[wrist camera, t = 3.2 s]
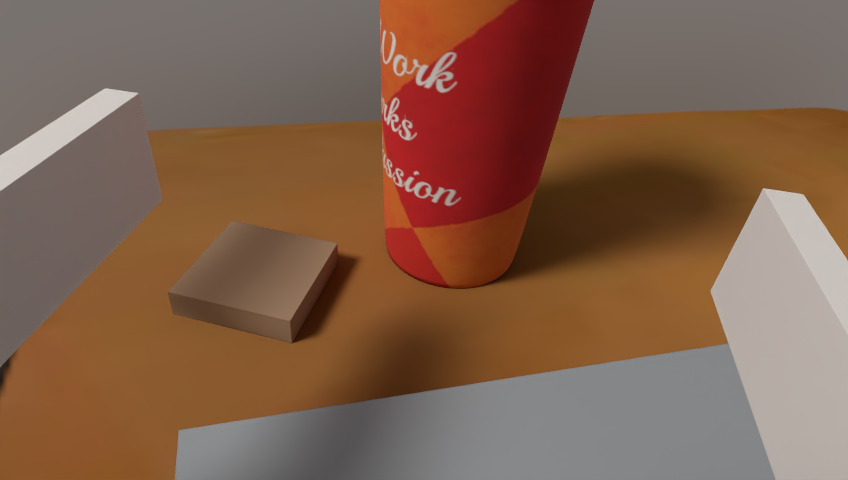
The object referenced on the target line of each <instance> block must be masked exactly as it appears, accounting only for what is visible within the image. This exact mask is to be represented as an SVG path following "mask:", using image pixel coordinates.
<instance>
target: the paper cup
mask: <svg viewBox="0 0 848 480" xmlns="http://www.w3.org/2000/svg"><path fill="white" fill-rule="evenodd" d="M593 2H594V0H380V32H381V89H382V90H381V91H382V142H383V185H384V216H385V235H386V245H387V250H388V253H389V255H390V257H391V259H392V260H393V262H394V263H395V264H396V265H397V266H398V267H399V268H400V269H401V270H402V271H404V272H405V273H406V274H408V275H410V276H411V277H413V278H415V279H417V280H419V281H422V282H425V283H428V284H431V285H435V286H439V287H446V288H471V287H477V286H481V285H485V284H487V283H490V282H492V281H494V280H496V279H498V278H499V277H501V276H502V275H503V274H504V273H505V272H506V271H507V270H508V268H509V267H510V265H511V263H512V261H513V259H514V256H515V253H516V251H517V248H518V245H519V242H520V239H521V236H522V233H523V230H524V227H525V224H526V221H527V217H528V214H529V211H530V208H531V205H532V202H533V198H534V195H535V192H536V189H537V186H538V182H539V179H540V176H541V173H542V169H543V166H544V163H545V160H546V156H547V153H548V150H549V147H550V143H551V140H552V137H553V134H554V130H555V127H556V124H557V121H558V117H559V114H560V111H561V107H562V104H563V100H564V98H565V94H566V91H567V87H568V84H569V81H570V78H571V75H572V71H573V68H574V65H575V61H576V58H577V54H578V51H579V48H580V45H581V41H582V38H583V35H584V32H585V28H586V25H587V22H588V19H589V15H590V12H591V9H592V5H593Z"/></svg>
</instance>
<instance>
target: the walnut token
mask: <svg viewBox="0 0 848 480" xmlns="http://www.w3.org/2000/svg"><path fill="white" fill-rule="evenodd" d="M337 264H338V251H337V243H333V242H329V241H324V240H320V239H315V238H310V237H306V236H301V235H296V234H292V233H287V232H282V231H278V230H273V229H268V228H264V227H259V226H255V225H250V224H245V223H241V222H236V221H232V222H231V223H230V224H229V225H228V226H227V227H226V228H225V229H224V230H223V231H222V233H221V234H220V235H219V236H218V237H217V238H216V239H215V240H214V241H213V243H212V244H211V245H210V246H209V247H208V248H207V249H206V250H205V251H204V252H203V254H202V255H201V256H200V257H199V258H198V259H197V260H196V261H195V262H194V264H193V265H192V266H191V267H190V268H189V269H188V270H187V271H186V272H185V273H184V275H183V276H182V277H181V278H180V279H179V280H178V281H177V282H176V283H175V285H174V286H173V287H172V288H171V289H170V290H169V291H168V295H169V299H170V303H171V307H172V311H173V314H176V315H180V316H184V317H188V318H192V319H196V320H200V321H204V322H208V323H212V324H216V325H220V326H224V327H228V328H232V329H236V330H240V331H244V332H248V333H252V334H256V335H260V336H264V337H269V338H273V339H277V340H281V341H285V342H289V343H292V342H293V340H294V339H295V337H296V335H297V333H298V332H299V330H300V328H301V327H302V325H303V323H304V321H305V320H306V318H307V316H308V314H309V313H310V311H311V309H312V308H313V306H314V304H315V302H316V301H317V299H318V297H319V296H320V294H321V292H322V290H323V289H324V287H325V285H326V283H327V282H328V280H329V278H330V277H331V275H332V273H333V271H334V270H335V268H336V266H337Z"/></svg>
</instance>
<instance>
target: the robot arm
mask: <svg viewBox="0 0 848 480" xmlns="http://www.w3.org/2000/svg"><path fill="white" fill-rule="evenodd" d="M162 200H163V199H162V195H161V190H160V186H159V181H158V177H157V173H156V168H155V164H154V159H153V155H152V151H151V146H150V142H149V137H148V133H147V128H146V124H145V120H144V115H143V111H142V106H141V102H140V97H139V94H138V93H132V92H126V91H120V90H113V89H106V88H105V89H104V90H102V91H100V92H99V93H97V94H96V95H94V96H93V97H91V98H89V99H88V100H86V101H85V102H83V103H82V104H80V105H79V106H77V107H76V108H74V109H72V110H71V111H69V112H68V113H66V114H64V115H63V116H61V117H60V118H58V119H57V120H55V121H54V122H52V123H50V124H49V125H47V126H46V127H44V128H43V129H41V130H40V131H38V132H37V133H35V134H33V135H32V136H30V137H29V138H27V139H26V140H24V141H22V142H21V143H19V144H18V145H16V146H15V147H13V148H12V149H10V150H8V151H7V152H5V153H4V154H2V155H1V156H0V366H1V365H2V364H3V363H4V362H5V361H6V360H7V359H8V358H9V357H10V356H11V355H12V354H13V353H14V352H15V351H16V350H17V349H18V348H19V347H20V346H21V345H22V344H23V343H24V342H25V341H26V340H27V339H28V338H29V337H30V336H31V335H32V334H33V333H34V332H35V330H36V329H37V328H38V327H39V326H40V325H41V324H42V323H43V322H44V321H45V320H46V319H47V318H48V317H49V316H50V315H51V314H52V313H53V312H54V311H55V310H56V309H57V308H58V307H59V306H60V305H61V304H62V303H63V302H64V301H65V300H66V299H67V298H68V297H69V295H70V294H71V293H72V292H73V291H74V290H75V289H76V288H77V287H78V286H79V285H80V284H81V283H82V282H83V281H84V280H85V279H86V278H87V277H88V276H89V275H90V274H91V273H92V272H93V271H94V270H95V269H96V268H97V267H98V266H99V265H100V264H101V263H102V262H103V260H104V259H105V258H106V257H107V256H108V255H109V254H110V253H111V252H112V251H113V250H114V249H115V248H116V247H117V246H118V245H119V244H120V243H121V242H122V241H123V240H124V239H125V238H126V237H127V236H128V235H129V234H130V233H131V232H132V231H133V230H134V229H135V228H136V226H137V225H138V224H139V223H140V222H141V221H142V220H143V219H144V218H145V217H146V216H147V215H148V214H149V213H150V212H151V211H152V210H153V209H154V208H155V207H156V206H157V205H158V204H159V203H160V202H161V201H162ZM711 294H712V297H713V300H714V303H715V306H716V308H717V311H718V314H719V317H720V320H721V323H722V326H723V329H724V332H725V335H726V337H727V340H728V343H729V346H730V349H731V352H732V355H733V358H734V361H735V364H736V366H737V369H738V372H739V375H740V378H741V381H742V384H743V387H744V390H745V393H746V395H747V398H748V401H749V404H750V407H751V410H752V413H753V416H754V419H755V421H756V424H757V427H758V430H759V433H760V436H761V439H762V442H763V445H764V448H765V450H766V453H767V456H768V459H769V462H770V465H771V468H772V471H773V474H774V477H775V479H776V480H848V260H847V259H846V257H845V256H844V254H843V253H842V251H841V250H840V248H839V247H838V245H837V244H836V242H835V241H834V239H833V238H832V237H831V235H830V234H829V232H828V231H827V229H826V228H825V226H824V225H823V223H822V222H821V220H820V219H819V217H818V216H817V214H816V213H815V211H814V210H813V208H812V207H811V205H810V204H809V202H808V201H807V199H806V198H805V196H804V195H803V194H797V193H791V192H784V191H777V190H771V189H764V188H763V190H762V192H761V194H760V196H759V198H758V200H757V202H756V204H755V205H754V207H753V209H752V211H751V213H750V215H749V217H748V219H747V221H746V223H745V225H744V227H743V229H742V231H741V233H740V235H739V237H738V239H737V241H736V242H735V244H734V246H733V248H732V250H731V252H730V254H729V256H728V258H727V260H726V262H725V264H724V266H723V268H722V270H721V272H720V274H719V276H718V278H717V279H716V281H715V283H714V285H713V287H712V289H711Z"/></svg>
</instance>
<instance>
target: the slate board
mask: <svg viewBox="0 0 848 480" xmlns="http://www.w3.org/2000/svg"><path fill="white" fill-rule="evenodd" d="M175 480H776V479H775V477H774V474H773V471H772V468H771V465H770V462H769V459H768V456H767V453H766V450H765V448H764V445H763V442H762V439H761V436H760V433H759V430H758V427H757V424H756V421H755V419H754V416H753V413H752V410H751V407H750V404H749V401H748V398H747V395H746V393H745V390H744V387H743V384H742V381H741V378H740V375H739V372H738V369H737V366H736V364H735V361H734V358H733V355H732V352H731V349H730V346H729V344H723V345H717V346H711V347H704V348H698V349H692V350H685V351H679V352H673V353H666V354H660V355H654V356H647V357H641V358H635V359H628V360H622V361H616V362H609V363H603V364H597V365H590V366H584V367H578V368H571V369H565V370H559V371H552V372H546V373H539V374H533V375H527V376H520V377H514V378H508V379H501V380H495V381H489V382H482V383H476V384H470V385H463V386H457V387H451V388H444V389H438V390H432V391H425V392H419V393H413V394H406V395H400V396H394V397H387V398H381V399H374V400H368V401H362V402H355V403H349V404H343V405H336V406H330V407H324V408H317V409H311V410H305V411H298V412H292V413H286V414H279V415H273V416H267V417H260V418H254V419H248V420H241V421H235V422H229V423H222V424H216V425H209V426H203V427H197V428H190V429H184V430H179V436H178V448H177V461H176V473H175Z"/></svg>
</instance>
